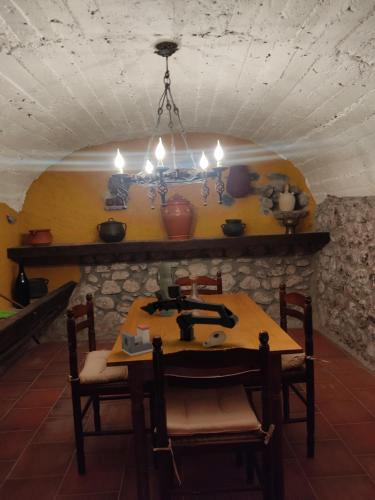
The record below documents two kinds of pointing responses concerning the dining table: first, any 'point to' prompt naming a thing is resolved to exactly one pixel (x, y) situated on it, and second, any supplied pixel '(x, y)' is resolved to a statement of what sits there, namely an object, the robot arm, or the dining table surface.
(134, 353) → the board
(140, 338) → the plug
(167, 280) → the thermos
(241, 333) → the dining table surface
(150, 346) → the grey toy building
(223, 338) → the pottery oil lamp
